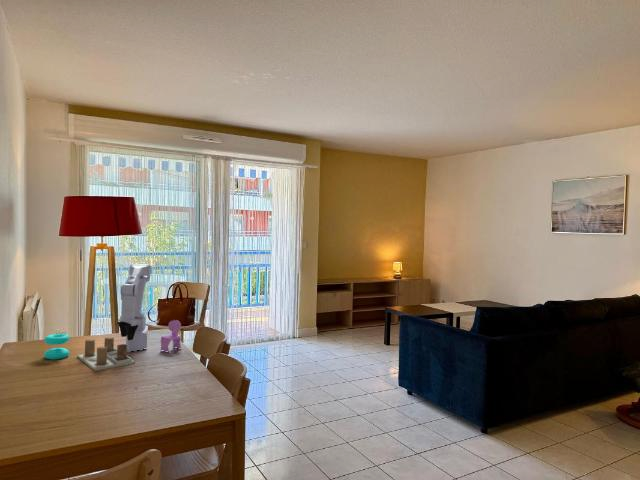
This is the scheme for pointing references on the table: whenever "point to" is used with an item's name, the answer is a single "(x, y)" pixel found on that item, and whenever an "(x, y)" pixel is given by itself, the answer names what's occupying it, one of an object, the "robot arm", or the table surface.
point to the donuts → (56, 352)
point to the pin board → (102, 355)
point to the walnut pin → (121, 352)
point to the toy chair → (171, 336)
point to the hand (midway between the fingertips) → (127, 338)
